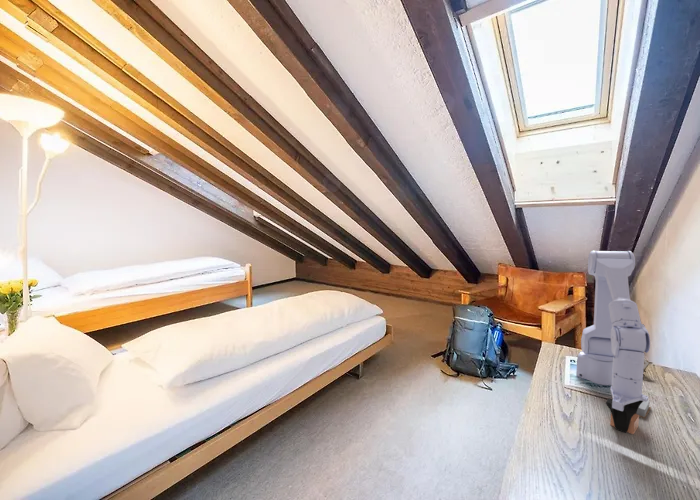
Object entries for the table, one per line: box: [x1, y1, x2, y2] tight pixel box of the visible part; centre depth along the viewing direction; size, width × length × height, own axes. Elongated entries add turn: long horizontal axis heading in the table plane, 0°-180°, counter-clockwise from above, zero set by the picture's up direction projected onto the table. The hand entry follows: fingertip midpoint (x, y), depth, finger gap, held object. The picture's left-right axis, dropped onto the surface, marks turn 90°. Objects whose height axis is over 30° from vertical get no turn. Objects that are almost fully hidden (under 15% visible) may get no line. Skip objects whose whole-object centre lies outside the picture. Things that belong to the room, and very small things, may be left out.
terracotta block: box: [609, 413, 640, 435], centre depth 80 cm, size 4×4×4 cm
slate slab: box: [636, 399, 651, 417], centre depth 87 cm, size 6×6×2 cm
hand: (624, 425), depth 80 cm, fingers open, 5 cm apart
